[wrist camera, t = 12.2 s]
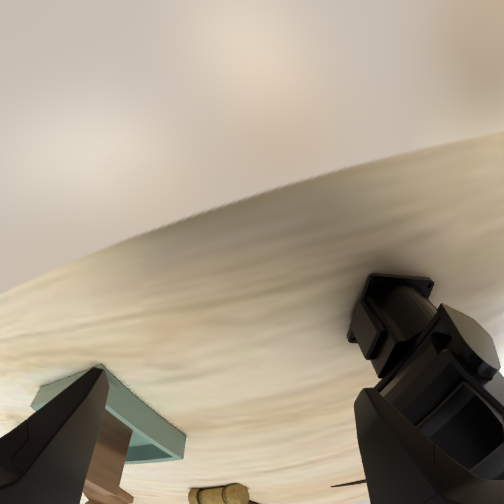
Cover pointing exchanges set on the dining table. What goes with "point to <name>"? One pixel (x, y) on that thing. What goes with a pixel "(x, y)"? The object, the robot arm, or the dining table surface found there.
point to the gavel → (220, 495)
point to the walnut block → (108, 456)
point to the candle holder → (109, 498)
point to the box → (129, 421)
